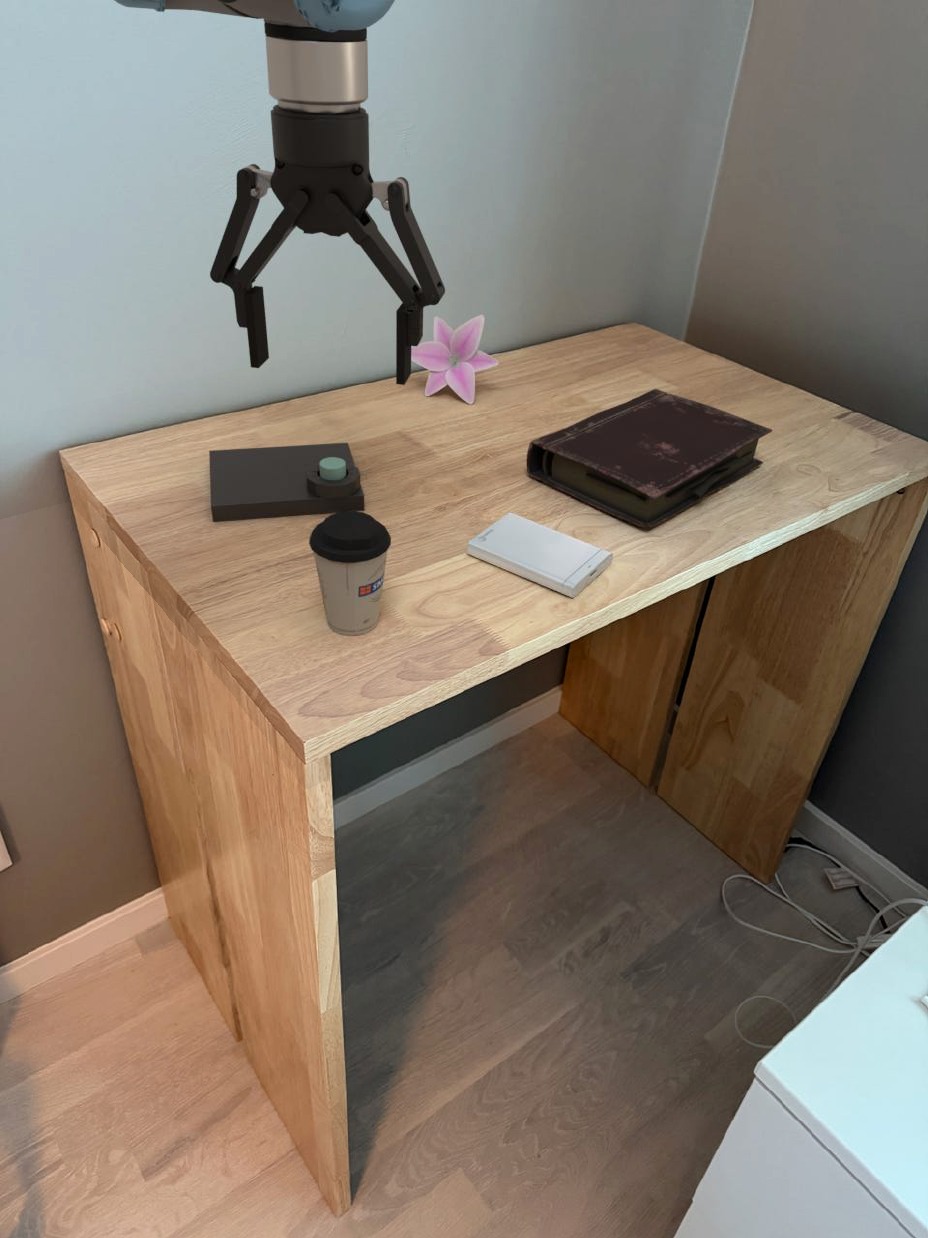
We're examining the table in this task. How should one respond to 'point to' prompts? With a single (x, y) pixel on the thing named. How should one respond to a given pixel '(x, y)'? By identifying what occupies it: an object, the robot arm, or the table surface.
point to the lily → (453, 357)
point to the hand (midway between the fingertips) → (331, 371)
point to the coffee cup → (350, 569)
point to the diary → (647, 456)
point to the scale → (281, 482)
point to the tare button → (332, 468)
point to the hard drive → (540, 554)
